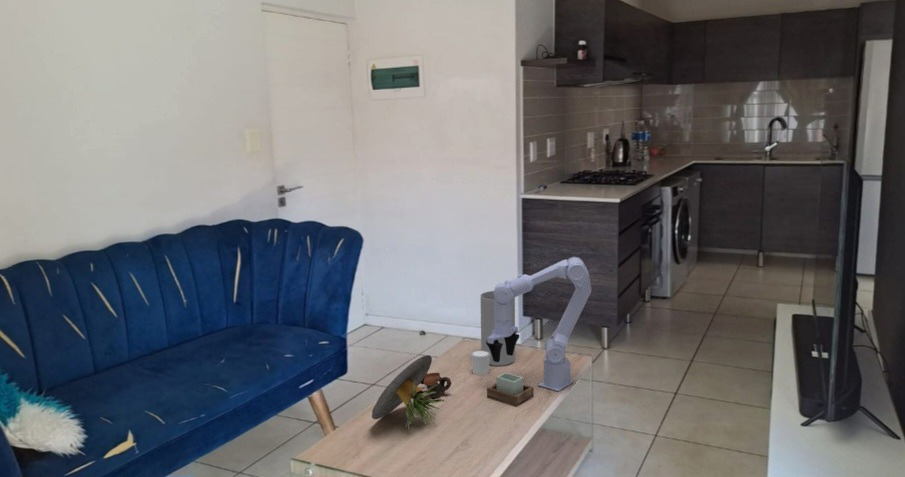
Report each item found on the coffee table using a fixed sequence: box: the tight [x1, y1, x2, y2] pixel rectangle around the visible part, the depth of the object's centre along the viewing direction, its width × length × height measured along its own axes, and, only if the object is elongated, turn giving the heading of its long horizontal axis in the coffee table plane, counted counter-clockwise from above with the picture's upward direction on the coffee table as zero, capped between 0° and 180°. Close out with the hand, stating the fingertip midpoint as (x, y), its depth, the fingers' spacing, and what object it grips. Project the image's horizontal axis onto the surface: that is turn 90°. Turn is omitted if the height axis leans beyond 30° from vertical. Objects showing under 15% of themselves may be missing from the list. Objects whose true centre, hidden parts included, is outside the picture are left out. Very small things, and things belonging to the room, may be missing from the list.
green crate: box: [496, 372, 524, 396], centre depth 228 cm, size 5×7×6 cm
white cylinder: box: [470, 350, 490, 376], centre depth 249 cm, size 7×7×7 cm
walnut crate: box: [486, 382, 534, 407], centre depth 228 cm, size 10×12×3 cm
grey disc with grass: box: [371, 354, 447, 431], centre depth 210 cm, size 25×18×25 cm
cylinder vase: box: [480, 290, 516, 367], centre depth 259 cm, size 12×12×25 cm
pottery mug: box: [419, 372, 452, 399], centre depth 233 cm, size 12×10×8 cm
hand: (503, 358), depth 237 cm, fingers open, 7 cm apart
